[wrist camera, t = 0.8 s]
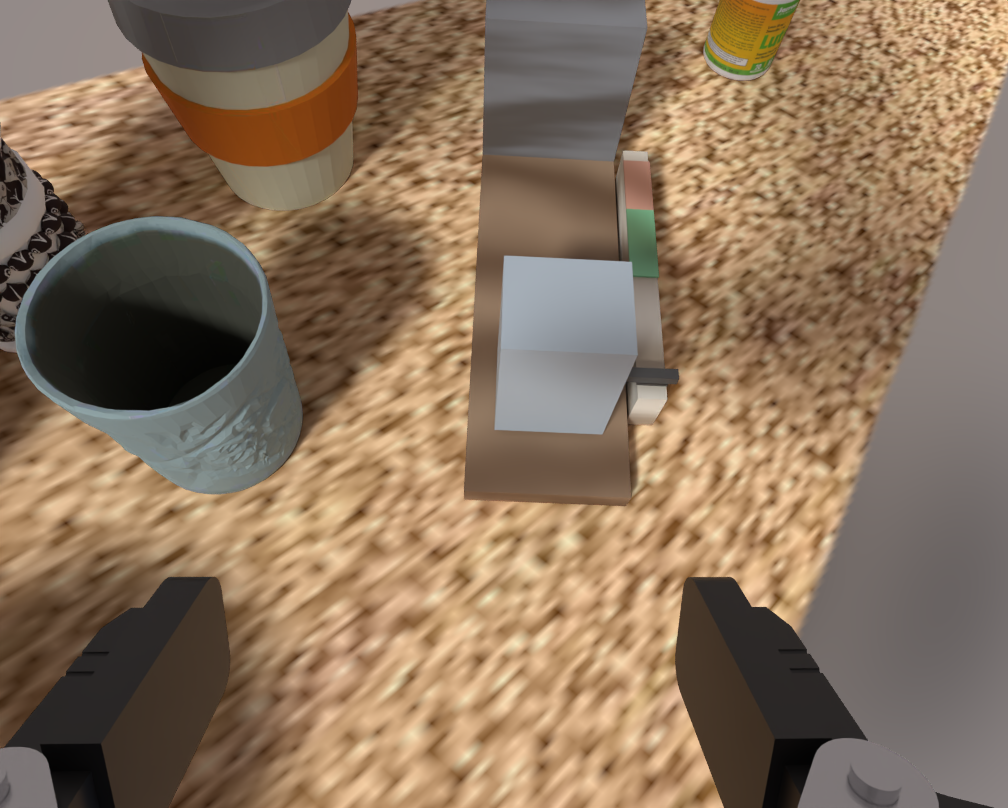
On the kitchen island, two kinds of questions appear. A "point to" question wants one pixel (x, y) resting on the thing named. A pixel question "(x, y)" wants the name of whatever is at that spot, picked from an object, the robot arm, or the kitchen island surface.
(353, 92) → the reusable coffee cup
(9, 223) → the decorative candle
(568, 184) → the track
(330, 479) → the kitchen island surface
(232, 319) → the teal gray cup
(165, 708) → the robot arm
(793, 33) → the kitchen island surface
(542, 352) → the block
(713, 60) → the supplement bottle
